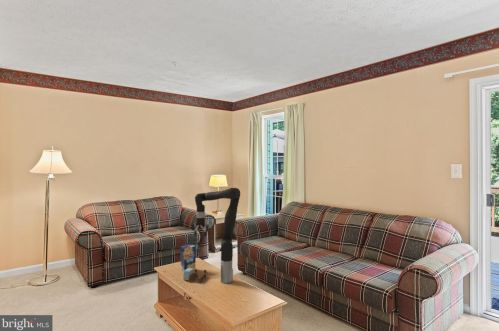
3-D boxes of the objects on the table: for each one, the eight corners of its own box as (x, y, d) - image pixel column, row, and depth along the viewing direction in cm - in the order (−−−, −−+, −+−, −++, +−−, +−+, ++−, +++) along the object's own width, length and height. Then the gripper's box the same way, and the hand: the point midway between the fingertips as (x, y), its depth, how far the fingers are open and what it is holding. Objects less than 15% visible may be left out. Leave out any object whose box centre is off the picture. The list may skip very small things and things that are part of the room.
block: (193, 276, 251) (193, 268, 251) (189, 280, 244) (189, 271, 244) (188, 276, 253) (188, 267, 253) (183, 279, 245) (183, 270, 245)
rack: (206, 276, 253) (206, 269, 253) (199, 283, 239) (199, 275, 239) (195, 275, 255) (195, 268, 255) (188, 282, 241) (188, 274, 241)
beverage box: (195, 270, 267) (195, 245, 268) (184, 273, 260) (184, 248, 260) (191, 268, 273) (191, 244, 273) (180, 271, 265) (180, 246, 265)
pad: (198, 276, 254) (198, 275, 254) (193, 280, 245) (193, 279, 245) (188, 275, 256) (188, 274, 256) (183, 279, 247) (183, 278, 247)
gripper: (190, 217, 256) (190, 236, 255) (206, 217, 252) (206, 237, 252) (194, 215, 263) (194, 234, 263) (210, 216, 259) (209, 235, 259)
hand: (200, 235), depth 257 cm, fingers open, 8 cm apart
